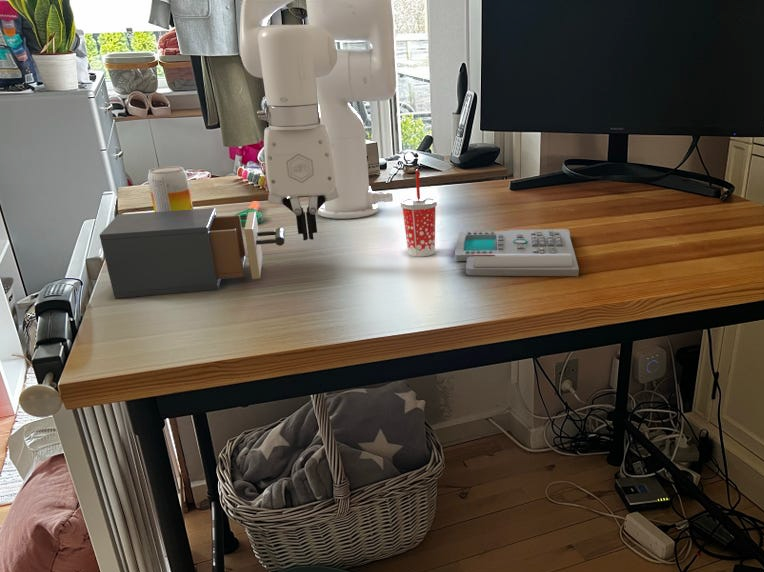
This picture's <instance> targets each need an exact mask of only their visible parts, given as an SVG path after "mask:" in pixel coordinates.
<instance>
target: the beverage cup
mask: <svg viewBox="0 0 764 572" xmlns="http://www.w3.org/2000/svg"><path fill="white" fill-rule="evenodd" d="M415 184H416V185H415V186H416V196H412V197H407V198H403V199H401V200H400V201H399V202H400V207H401V209H402V215H403V223H404V231H405V239H406V247H407V254H408V255H409V256H412V257H419V258H420V257H428V256H429V257H430V256H432V255H434V254H435V252H436V207H437V206H438V200H437V199H436V197H435V198H434V197H429V196H421V192H420V191H421V190H420V174H419V170H418V169H416V170H415Z"/></svg>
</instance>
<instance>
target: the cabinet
mask: <svg viewBox="0 0 764 572" xmlns="http://www.w3.org/2000/svg"><path fill="white" fill-rule="evenodd" d="M214 217H217V212H216V207H211V208H208V207H207V208H197V209H196V208H195V209H194V208H193V210H178V211H163V212H154V211H151V212H150V211H149V212H148V211H147V212H135V213H123V214H122V213H121V214H117V215H116V216H115V217H114V218H113V219H112V221H110V223H109V224H107V225H106V227H105V228H104V229H103V230H102V231H101V232H100V234H99V241H100V244H101V248H102V252H103V255H104V256H103V257H104V260H105V264H106V269H107V272H108V277H109V281H110V284H111V285H110V286H111V289H112V292H113V297H114V299H126V298H136V297H147V296H160V295H171V294H181V293H182V294H183V293H193V292H204V291H214V290H219V288H220V284H221V281H222V279H217V274H216V269H215V263H214V257H213V252H212V246H211V240H210V235H209V229H210V226H211V224H212V221H213V218H214Z"/></svg>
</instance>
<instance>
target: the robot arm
mask: <svg viewBox="0 0 764 572" xmlns="http://www.w3.org/2000/svg"><path fill="white" fill-rule="evenodd" d="M295 1H296V0H242V2H241V8H240V21H239V54H240V58H241V62H242V65H243V67H244V68H245V70H246V71H247V73H249V74H250V75H251V76H252V77H255V78H258V79H262V81H263V89H264V96H265V104H266V107H264V109H261V110H257V111H256V113H257V120H258V121H266V123H268V126H267V127H265V128H264V132H263V133H264V134H263V153H264V166H265V176H266V182H267V189H268V196H267V197H268V198H267V201H268V202H269V203H270V204H276V205H283V206H285V208H287V209H288V210H289V211H291V212H292V213H293V215H295V219H296V226H297V234H298V235H302V239H303V241H308V240H310V241H311V240H313V241H314V239H315V238H314V234H318V226H317V217H316V214H318V216H321V217H323V218H327V219H337V220H338V219H339V220H344V219H345V220H347V219H348V220H349V219H359V218H365V217H369V216H373V215H375V214H376V213H377V212H378V211H379V203H382V202H383V203H391V202H393V193H392V192H391V191H389V192H386V191H373V190H372V188H371V186H370V180H369V179H370V178H369V168H368V157H367V155H368V154H367V143H366V131H365V130H366V129H365V124H364V122H363V119H362V118H361V116H360V115H359V114H358V113H357V111H356V110H355V109H354V108H353V107H352V106H351V104H350V103H356V102H382V101H383V102H384V101H385V102H386V101H389V100H391V99H393V98H394V96H395V95H396V92H397V86H398V72H397V57H396V55H397V54H396V44H395V43H396V41H395V28H394V15H393V8H392V3H391V0H305V4H306V14H307V20H308V24H267V23H268V20H269V19H270V18H271V17H272V15H274V13H276V12H277V11H278V10H280V9H281V8H283V7H284V6H287V5H288V4H290V3H293V2H295ZM336 42H345V43H346V42H366V43H368V44H369V45H370V46H371V48H354V49H352V48H338V47H337V43H336ZM299 197H308V206H307V208H306V211H304V208H303V207H302V205H301V202H300V198H299Z"/></svg>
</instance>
